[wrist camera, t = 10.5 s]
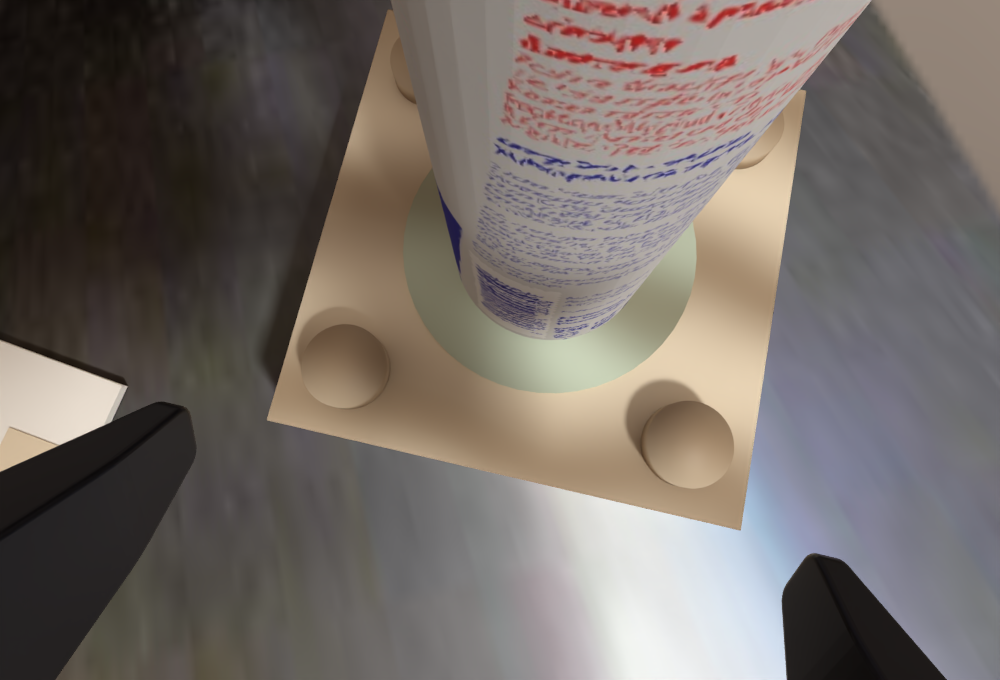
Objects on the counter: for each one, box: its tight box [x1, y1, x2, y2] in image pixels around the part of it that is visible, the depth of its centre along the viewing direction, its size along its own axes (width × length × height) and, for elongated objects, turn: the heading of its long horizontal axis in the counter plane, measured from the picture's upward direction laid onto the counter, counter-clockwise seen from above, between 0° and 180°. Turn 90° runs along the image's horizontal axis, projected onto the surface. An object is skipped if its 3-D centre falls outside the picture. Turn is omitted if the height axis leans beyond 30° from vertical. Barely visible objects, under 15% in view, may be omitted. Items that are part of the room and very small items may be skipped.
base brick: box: [267, 10, 806, 530], centre depth 19 cm, size 14×14×3 cm
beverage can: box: [391, 0, 871, 340], centre depth 11 cm, size 6×6×15 cm
